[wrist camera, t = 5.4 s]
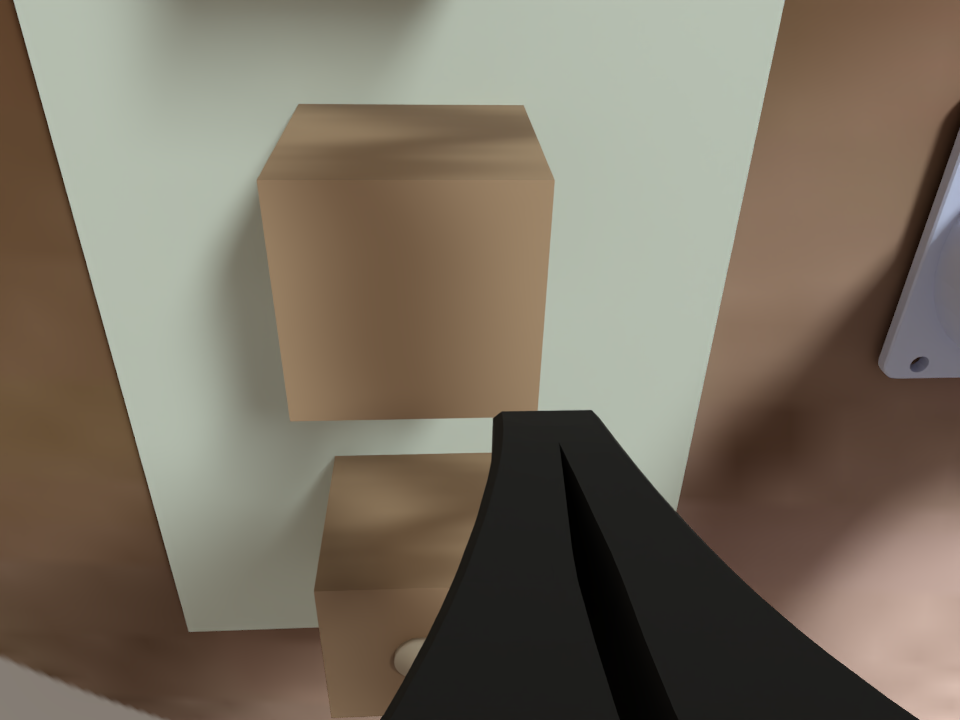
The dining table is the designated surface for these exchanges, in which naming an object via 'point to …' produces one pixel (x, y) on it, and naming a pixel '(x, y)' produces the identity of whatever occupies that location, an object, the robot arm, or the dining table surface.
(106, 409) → the dining table surface
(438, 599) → the one dot block
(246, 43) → the sage mat
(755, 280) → the dining table surface
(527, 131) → the plain block
